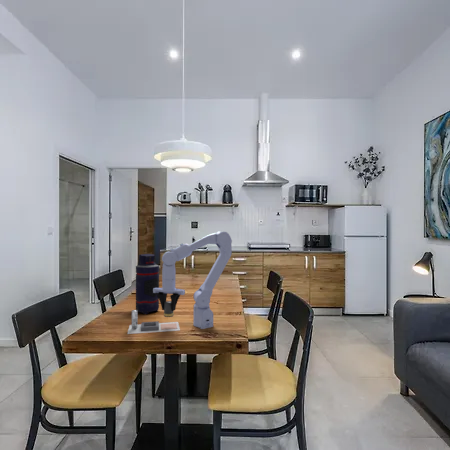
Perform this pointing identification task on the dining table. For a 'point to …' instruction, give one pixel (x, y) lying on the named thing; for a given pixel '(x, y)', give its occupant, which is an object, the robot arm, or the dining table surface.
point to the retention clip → (134, 319)
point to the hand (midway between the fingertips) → (168, 310)
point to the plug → (168, 309)
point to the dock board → (150, 327)
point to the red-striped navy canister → (147, 284)
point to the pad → (169, 326)
